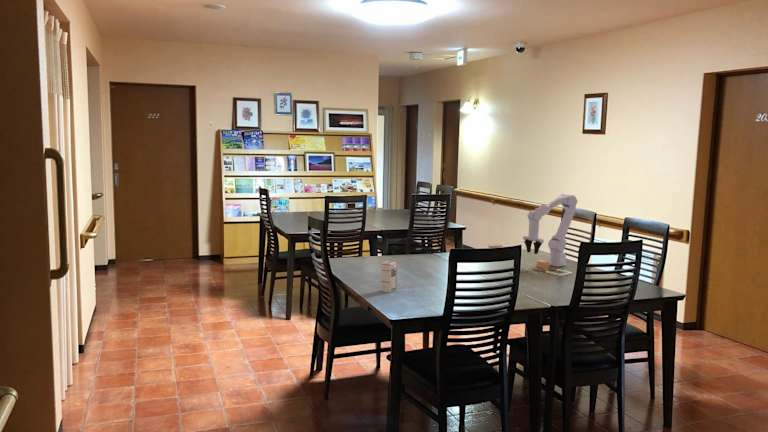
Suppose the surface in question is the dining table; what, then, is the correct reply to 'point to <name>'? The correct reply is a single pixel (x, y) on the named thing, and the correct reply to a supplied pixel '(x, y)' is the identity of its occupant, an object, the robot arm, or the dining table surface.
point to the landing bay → (560, 271)
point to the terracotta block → (543, 264)
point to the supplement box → (495, 246)
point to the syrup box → (388, 276)
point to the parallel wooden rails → (544, 269)
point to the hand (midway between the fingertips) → (532, 253)
